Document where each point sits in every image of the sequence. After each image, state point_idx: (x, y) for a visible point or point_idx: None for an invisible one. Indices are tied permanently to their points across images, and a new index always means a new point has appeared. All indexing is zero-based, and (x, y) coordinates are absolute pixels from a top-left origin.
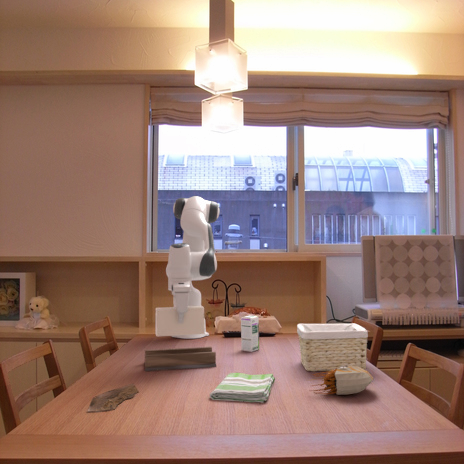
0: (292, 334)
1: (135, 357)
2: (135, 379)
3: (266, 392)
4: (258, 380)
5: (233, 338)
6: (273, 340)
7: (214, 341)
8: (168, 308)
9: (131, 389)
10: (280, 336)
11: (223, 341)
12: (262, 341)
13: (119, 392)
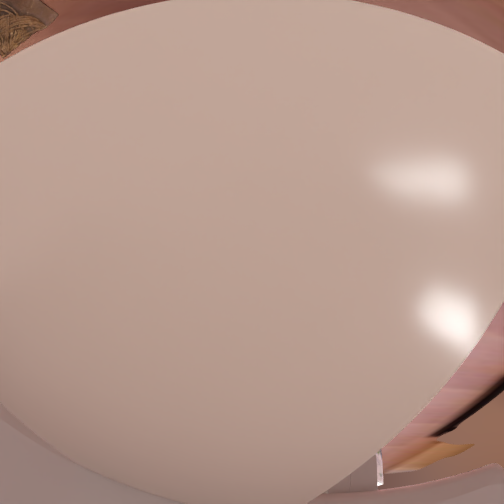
0: (416, 450)
1: (473, 34)
2: (94, 9)
3: None
4: None
5: (481, 389)
6: (402, 434)
7: (496, 355)
8: (67, 447)
9: (14, 33)
10: (419, 441)
11: (479, 372)
12: (410, 424)
13: (7, 12)
